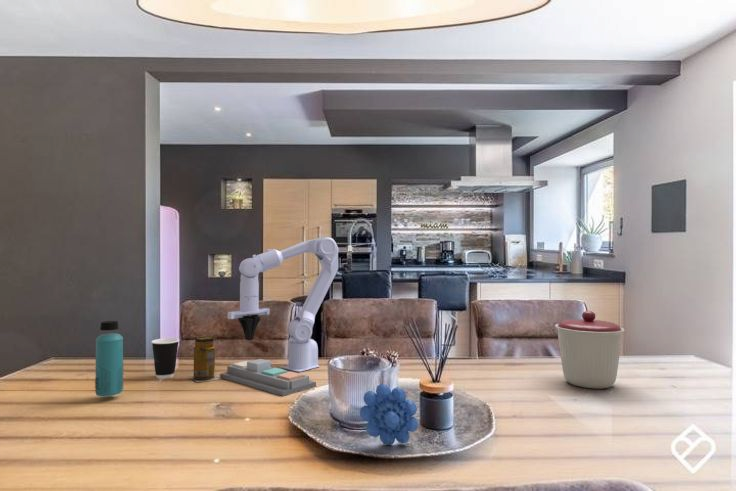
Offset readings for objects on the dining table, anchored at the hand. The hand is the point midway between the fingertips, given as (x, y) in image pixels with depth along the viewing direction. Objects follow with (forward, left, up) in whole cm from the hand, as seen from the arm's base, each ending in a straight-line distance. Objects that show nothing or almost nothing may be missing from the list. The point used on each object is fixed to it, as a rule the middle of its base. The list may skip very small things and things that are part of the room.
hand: (249, 339), depth 147 cm
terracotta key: (+3, +23, -9) cm, 25 cm away
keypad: (+3, +13, -10) cm, 17 cm away
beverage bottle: (+39, -6, -11) cm, 41 cm away
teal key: (+3, +16, -9) cm, 19 cm away
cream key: (+3, +2, -9) cm, 10 cm away
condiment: (+12, -5, -11) cm, 17 cm away
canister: (-55, +86, -11) cm, 103 cm away
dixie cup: (+19, -16, -11) cm, 27 cm away
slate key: (+3, +9, -7) cm, 12 cm away
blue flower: (+17, +68, -11) cm, 71 cm away
